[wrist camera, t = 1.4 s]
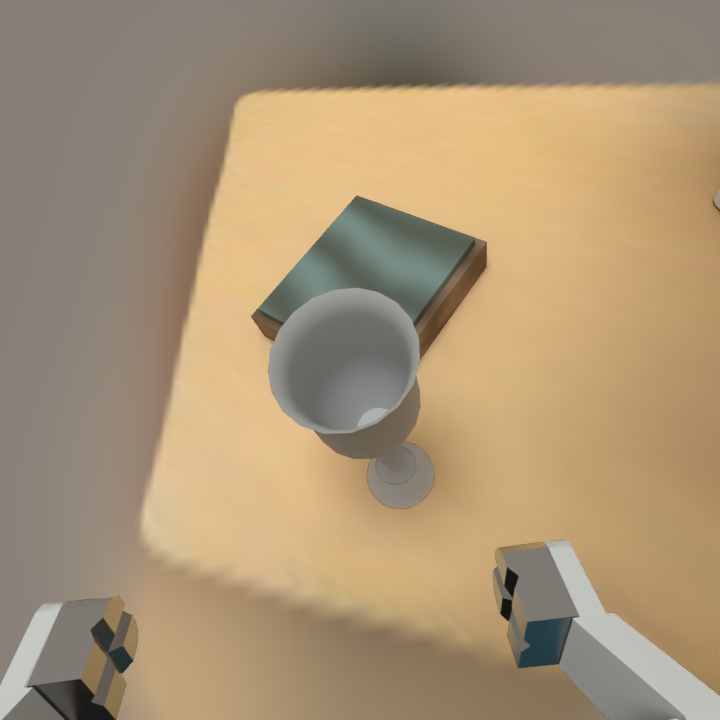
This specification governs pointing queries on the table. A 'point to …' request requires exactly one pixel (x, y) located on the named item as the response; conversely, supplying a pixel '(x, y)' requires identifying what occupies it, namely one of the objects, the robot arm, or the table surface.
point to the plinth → (383, 267)
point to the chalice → (356, 386)
